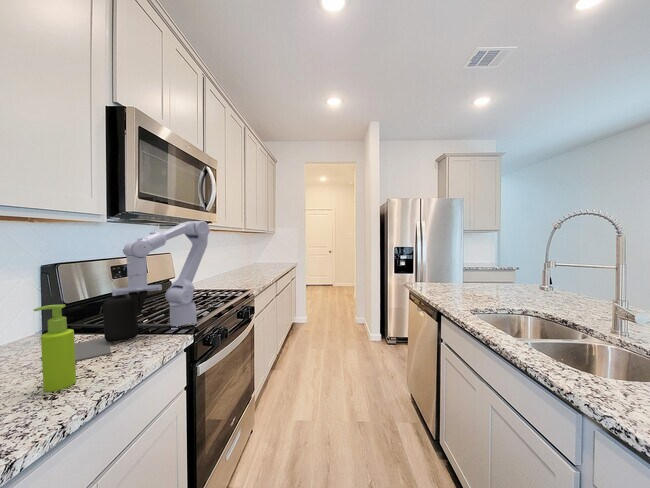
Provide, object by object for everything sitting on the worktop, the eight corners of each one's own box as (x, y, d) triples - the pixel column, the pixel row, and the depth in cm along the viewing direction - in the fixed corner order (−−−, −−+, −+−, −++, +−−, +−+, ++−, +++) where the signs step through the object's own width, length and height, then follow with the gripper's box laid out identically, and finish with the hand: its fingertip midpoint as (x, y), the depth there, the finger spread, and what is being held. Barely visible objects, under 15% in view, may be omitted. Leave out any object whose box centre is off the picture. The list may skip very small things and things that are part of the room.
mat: (108, 337, 102) (108, 336, 102) (110, 353, 88) (110, 352, 88) (55, 348, 93) (55, 347, 93) (48, 367, 79) (48, 366, 79)
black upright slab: (101, 344, 92) (99, 299, 95) (100, 345, 94) (98, 301, 97) (139, 336, 100) (136, 295, 103) (137, 337, 102) (134, 297, 105)
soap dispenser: (45, 383, 71) (41, 304, 70) (80, 377, 73) (76, 301, 73) (32, 395, 65) (27, 310, 65) (70, 388, 68) (66, 306, 67)
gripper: (112, 278, 92) (113, 319, 92) (162, 273, 101) (164, 311, 101) (111, 276, 97) (112, 314, 98) (159, 272, 106) (160, 307, 107)
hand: (138, 312), depth 100 cm, fingers closed
